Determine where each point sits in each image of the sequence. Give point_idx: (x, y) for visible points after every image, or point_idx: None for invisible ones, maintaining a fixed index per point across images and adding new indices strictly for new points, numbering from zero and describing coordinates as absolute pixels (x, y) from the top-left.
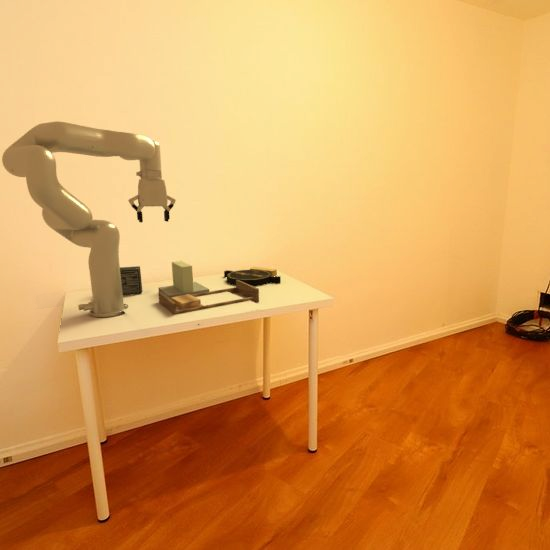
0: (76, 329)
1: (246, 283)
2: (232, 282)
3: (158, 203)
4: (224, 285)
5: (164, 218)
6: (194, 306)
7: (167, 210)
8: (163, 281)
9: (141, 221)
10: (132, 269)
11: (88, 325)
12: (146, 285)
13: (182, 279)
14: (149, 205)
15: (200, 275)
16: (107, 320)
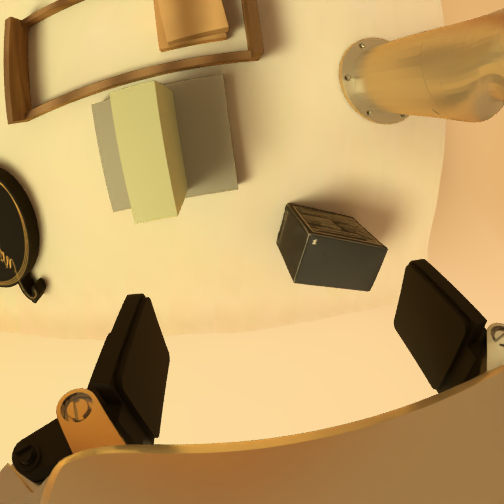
0: (429, 19)
1: (4, 74)
2: (25, 201)
3: (264, 495)
4: (46, 199)
5: (166, 371)
6: None
7: (97, 398)
8: (204, 312)
9: (421, 260)
10: (328, 237)
11: (414, 24)
12: (256, 289)
13: (165, 89)
14: (466, 390)
15: (103, 330)
16: (384, 25)
